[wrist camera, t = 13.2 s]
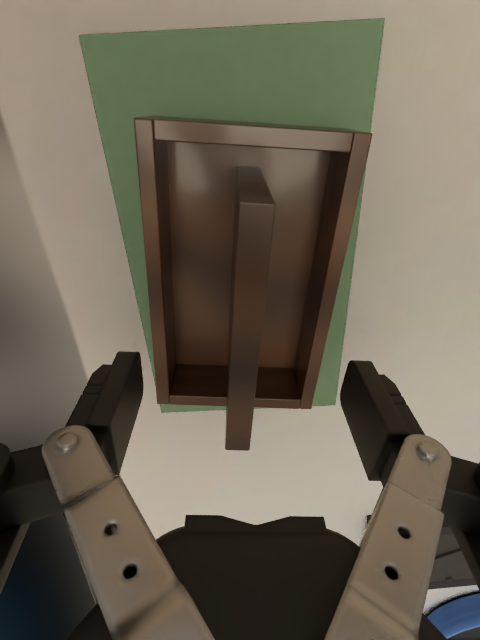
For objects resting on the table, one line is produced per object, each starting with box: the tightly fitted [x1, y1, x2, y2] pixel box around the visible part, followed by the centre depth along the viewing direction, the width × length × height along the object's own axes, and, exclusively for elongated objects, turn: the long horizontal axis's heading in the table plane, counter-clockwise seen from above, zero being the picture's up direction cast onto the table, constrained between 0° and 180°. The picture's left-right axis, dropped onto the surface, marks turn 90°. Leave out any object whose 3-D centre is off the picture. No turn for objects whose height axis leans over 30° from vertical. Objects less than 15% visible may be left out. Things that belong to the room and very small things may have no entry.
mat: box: [79, 18, 385, 413], centre depth 22 cm, size 24×14×1 cm, turn 3°
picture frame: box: [367, 516, 477, 589], centre depth 39 cm, size 13×2×18 cm
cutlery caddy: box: [134, 116, 372, 450], centre depth 18 cm, size 16×10×9 cm, turn 177°
